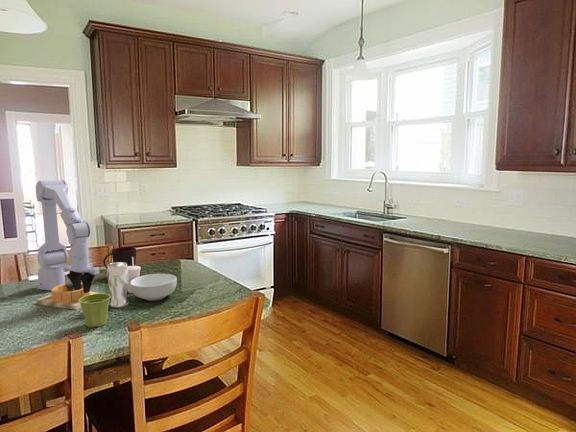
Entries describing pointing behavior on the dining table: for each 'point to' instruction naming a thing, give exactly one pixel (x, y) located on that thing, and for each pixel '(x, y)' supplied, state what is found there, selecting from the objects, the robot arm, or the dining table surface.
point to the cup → (122, 255)
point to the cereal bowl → (153, 286)
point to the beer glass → (118, 283)
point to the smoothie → (132, 274)
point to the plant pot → (95, 309)
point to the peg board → (69, 305)
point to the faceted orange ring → (67, 294)
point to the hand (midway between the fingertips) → (82, 291)
